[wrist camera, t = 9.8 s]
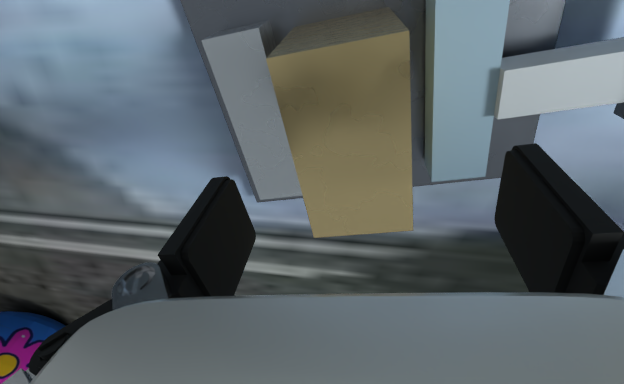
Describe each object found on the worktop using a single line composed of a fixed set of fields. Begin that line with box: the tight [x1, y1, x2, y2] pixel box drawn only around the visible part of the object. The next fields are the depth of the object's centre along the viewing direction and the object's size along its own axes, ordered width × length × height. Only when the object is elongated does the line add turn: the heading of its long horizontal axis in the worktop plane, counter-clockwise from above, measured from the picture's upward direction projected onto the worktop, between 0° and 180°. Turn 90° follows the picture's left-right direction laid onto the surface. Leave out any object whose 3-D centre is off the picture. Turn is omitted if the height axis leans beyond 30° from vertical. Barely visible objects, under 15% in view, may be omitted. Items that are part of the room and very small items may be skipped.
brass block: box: [266, 7, 413, 238], centre depth 16 cm, size 5×9×7 cm, turn 11°
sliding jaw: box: [425, 0, 624, 182], centre depth 15 cm, size 11×10×4 cm
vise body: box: [180, 0, 566, 202], centre depth 18 cm, size 19×14×4 cm
